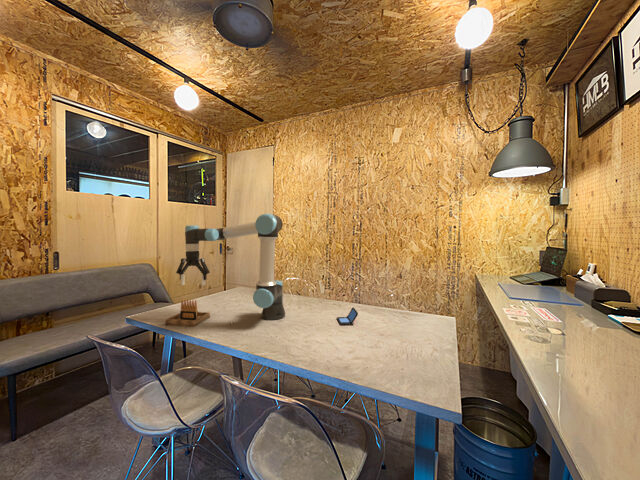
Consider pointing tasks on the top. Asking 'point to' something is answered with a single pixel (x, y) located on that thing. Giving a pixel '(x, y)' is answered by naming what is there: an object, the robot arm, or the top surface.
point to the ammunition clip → (188, 310)
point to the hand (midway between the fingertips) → (193, 285)
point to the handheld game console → (348, 318)
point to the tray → (181, 322)
